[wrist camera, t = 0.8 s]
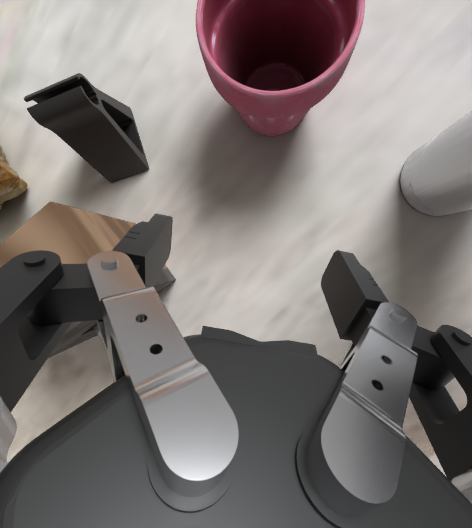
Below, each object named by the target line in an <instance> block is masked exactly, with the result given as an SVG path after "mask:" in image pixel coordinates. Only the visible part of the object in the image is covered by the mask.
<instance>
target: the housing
mask: <svg viewBox="0 0 472 528" xmlns="http://www.w3.org/2000/svg"><path fill="white" fill-rule="evenodd" d="M134 225H136V224H135V223H132V222H128V221H124V220H120V219H116V218H112V217H108V216H104V215H101V214H97V213H93V212H89V211H85V210H81V209H77V208H73V207H69V206H66V205H62V204H58V203H54V202H49V203H48V204H47V205H46V206H45V207H43V208H42V209H41V210H40V211H39V212H38V213H36V214H35V215H34V216H33V217H32V218H31V219H30V220H28V221H27V222H26V223H25V224H24V225H23V226H21V227H20V228H19V229H18V230H17V231H16V232H14V233H13V234H12V235H11V236H10V237H9V238H8V239H6V240H5V241H4V242H3V243H2V244H1V245H0V268H1V267H2V266H3V265H5V264H6V263H7V262H8V261H10V260H11V259H12V258H14V257H15V256H17V255H20V254H22V253H26V252H30V251H38V250H44V251H51V252H54V253H56V254H58V255H59V256H60V259H61V263H62V264H84V263H87V262H88V260H89V259H90V258H91V257H92V256H93V255H95V254H97V253H101V252H105V251H112V250H113V248H114V247H115V246H116V245H117V244H118V243H119V242H120V240H121V239H122V238H123V237H124V236H125V235H126V234H127V232H129V230H130V229H131V228H132V227H133V226H134ZM175 280H176V279H175V278H174V276H173V275H172V274H171V272H170V271H169V269H168V268H167V267H166V265H164V267H163V269H162V272H161V274H160V276H159V278H158V280H157V282H156V284H155V286H154V288H155V290H156V292H157V293H159V292H160V291H162V290H163V289H164V288H166V287H167V286H168V285H170V284H171V283H172V282H174V281H175ZM96 323H97V320H92V321H79V322H72V323H71V325H70V326H69V327H68V329H67V330H66V332H65V333H64V335H63V336H62V338H61V339H60V341H59V342H58V344H57V345H56V347H55V348H54V349H53V351H52V352H51V354H50V355H49V357H51V356H53V355H55V354H58V353H60V352H62V351H64V350H66V349H68V348H71V347H73V346H75V345H77V344H79V343H81V342H83V341H86V340H88V339H90V338H92V337H94V336H96V335H98V333H97V332H96V331H95V329H94V328H93V325H95V324H96ZM49 357H48V358H49Z"/></svg>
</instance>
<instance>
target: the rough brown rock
mask: <svg viewBox="0 0 472 528" xmlns="http://www.w3.org/2000/svg"><path fill="white" fill-rule="evenodd" d="M26 189H27V183H26V182H25V181H24V180H23V179H21V178H19V176H18V173H17V172H16V171H14V170H13V169H12V168H10V167H9V166H8V163H7V160H6V157H5V154H4V152H3V151H2V149H1V148H0V210H1V208H2V204H3V203H4V202H5V201H7V200H10V199H13V198H15V197H17V196H19V195H20V194H21V193H23V192H24V191H25V190H26Z"/></svg>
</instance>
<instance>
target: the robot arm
mask: <svg viewBox="0 0 472 528" xmlns="http://www.w3.org/2000/svg"><path fill="white" fill-rule="evenodd" d="M400 183H401V190H402V192H403V195H404V197H405V199H406V200H407V202H408V203H409V204H410V205H411V206H412V207H413V208H415V209H416V210H418V211H419V212H422V213H424V214H427V215H432V216H445V215H450V214H454V213H459V212H463V211H468V210H472V111H471V112H470V113H468V114H467V115H465V116H464V117H463V118H461V119H460V120H458V121H457V122H456V123H454V124H453V125H451V126H450V127H448V128H447V129H446V130H444V131H443V132H441V133H440V134H438V135H437V136H435V137H434V138H433V139H431V140H430V141H429V142H427V143H426V144H424V145H423V146H422V147H420V148H419V149H417V150H416V151H415V152H413V153H412V155H411V156H410V157H409V158H408V159H407V161H406V162H405V164H404V166H403V169H402V172H401V178H400ZM171 237H172V217H170V216H165V215H160V214H155V215H154V216H153V217H152V218H151V220H150V221H149V222H140V223H138V224H136V225H134V226H133V227H132V228H131V229H130V230H129V232H127V234H126V235H125V236H124V237H123V238H122V239H121V240H120V242H119V243H118V244H117V245H116V246H115V247H114V248H113V250H112V251H105V252H101V253H97V254H95V255H93V256H92V257H91V258H90V259H89V260H88V262H87V263H84V264H62V263H61V259H60V256H59V255H58V254H56V253H54V252H51V251H44V250H38V251H30V252H26V253H22V254H20V255H17V256H15V257H14V258H12V259H11V260H10V261H8V262H7V263H6V264H5V265H3V266H2V267H1V268H0V528H472V337H471V336H470V335H468V334H467V333H465V332H463V331H462V330H460V329H458V328H455V327H453V326H449V325H442V326H440V327H439V328H438V329H437V331H436V332H435V333H434V332H432V331H429V330H427V329H424V328H421V327H419V326H417V321H416V319H415V318H414V317H413V316H412V315H411V314H410V313H409V312H408V311H407V310H405V309H404V308H402V307H400V306H398V305H396V304H393V303H389V301H388V300H387V298H386V297H385V295H384V294H383V292H382V291H381V289H380V288H379V287H378V285H377V283H376V282H375V281H374V279H373V277H372V276H371V274H370V273H369V272H368V271H367V270H366V269H365V268H364V267H363V266H362V265H360V263H359V262H358V260H357V259H356V257H355V255H354V254H353V253H348V252H343V251H335V252H334V254H333V256H332V258H331V260H330V262H329V264H328V266H327V268H326V270H325V272H324V274H323V276H322V280H321V287H322V290H323V293H324V295H325V298H326V301H327V304H328V306H329V309H330V312H331V315H332V317H333V320H334V323H335V326H336V328H337V331H338V334H339V337H340V339H345V340H351V341H352V342H353V343H352V345H351V346H350V348H349V349H348V351H347V353H346V354H345V356H344V358H343V360H342V362H341V363H340V365H339V367H338V366H336V365H335V364H334V363H332V362H331V361H329V360H327V359H326V358H324V357H322V356H320V355H318V354H317V351H316V347H315V345H312V344H306V343H300V342H295V341H289V340H287V341H269V342H260V341H256V340H254V339H251V338H249V337H246V336H244V335H241V334H239V333H236V332H233V331H230V330H224V329H219V328H213V327H207V326H203V328H202V333H201V335H192V336H187V337H183V336H182V335H181V333H180V331H179V330H178V328H177V326H176V324H175V323H174V321H173V319H172V318H171V316H170V314H169V312H168V311H167V309H166V307H165V305H164V304H163V302H162V300H161V299H160V297H159V295H158V293H157V292H156V290H155V288H154V286H155V284H156V282H157V280H158V278H159V276H160V274H161V272H162V269H163V267H164V265H165V263H166V261H167V259H168V257H169V254H170V249H171ZM92 320H97V324H98V327H99V330H100V333H101V337H102V340H103V343H104V346H105V349H106V353H107V356H108V360H109V364H110V368H111V373H112V376H113V380H114V383H113V384H111V385H110V386H108V387H107V388H106V389H104V390H103V391H101V392H100V393H99V394H97V395H96V396H94V397H93V398H91V399H90V400H89V401H87V402H86V403H84V404H83V405H82V406H80V407H79V408H77V409H76V410H75V411H73V412H72V413H70V414H69V415H67V416H66V417H65V418H63V419H62V420H60V421H59V422H58V423H56V424H55V425H53V426H52V427H51V428H49V429H48V430H46V431H45V432H43V433H42V434H41V435H39V436H38V437H36V438H35V439H34V440H32V441H31V442H30V443H29V444H27V445H26V446H25V447H24V448H23V449H22V450H21V451H19V452H18V453H17V454H16V455H15V456H14V457H13V458H12V460H11V461H10V462H9V463H7V454H8V450H9V448H10V446H11V443H12V441H13V439H14V437H15V434H16V428H17V426H16V421H15V419H14V417H13V415H12V414H11V411H12V410H13V408H14V407H15V405H16V404H17V402H18V401H19V399H20V398H21V396H22V395H23V394H24V392H25V391H26V389H27V388H28V386H29V385H30V383H31V382H32V380H33V379H34V377H35V376H36V374H37V373H38V372H39V370H40V369H41V367H42V366H43V364H44V363H45V361H46V360H47V358H48V357H49V355H50V354H51V352H52V351H53V349H54V348H55V347H56V345H57V344H58V342H59V341H60V339H61V338H62V336H63V335H64V333H65V332H66V330H67V329H68V327H69V326H70V325H71V323H72V322H79V321H92ZM453 378H456V379H457V381H458V382H459V384H460V385H461V387H462V388H463V390H464V391H465V393H466V395H467V405H466V407H465V408H464V409H463V410H461V411H459V410H458V408H457V406H456V405H455V403H454V401H453V400H452V398H451V396H450V395H449V393H448V392H447V390H446V388H445V387H444V386H445V385H446V384H447V383H448V382H450V381H451V380H452V379H453ZM408 398H410V400H411V402H412V404H413V406H414V408H415V410H416V412H417V415H418V417H419V419H420V421H421V423H422V425H423V427H424V430H425V432H426V434H427V436H428V438H429V440H430V442H431V444H432V447H433V449H434V451H435V453H436V455H437V457H438V459H439V462H440V464H441V466H442V468H443V470H444V472H445V474H446V476H445V475H444V474H443V473H442V472H441V471H440V470H439V469H438V468H437V467H436V466H435V465H434V464H433V463H432V462H431V461H430V460H429V459H428V458H427V457H426V456H425V454H424V453H423V452H422V451H421V450H420V449H419V448H418V447H417V446H416V445H415V444H414V443H413V442H412V441H411V440H410V439H409V438H408V437H407V436H406V435H405V433H404V432H403V430H402V427H403V422H404V417H405V412H406V408H407V403H408Z"/></svg>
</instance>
